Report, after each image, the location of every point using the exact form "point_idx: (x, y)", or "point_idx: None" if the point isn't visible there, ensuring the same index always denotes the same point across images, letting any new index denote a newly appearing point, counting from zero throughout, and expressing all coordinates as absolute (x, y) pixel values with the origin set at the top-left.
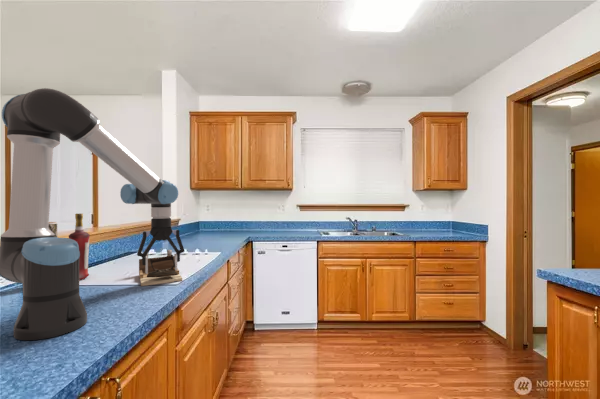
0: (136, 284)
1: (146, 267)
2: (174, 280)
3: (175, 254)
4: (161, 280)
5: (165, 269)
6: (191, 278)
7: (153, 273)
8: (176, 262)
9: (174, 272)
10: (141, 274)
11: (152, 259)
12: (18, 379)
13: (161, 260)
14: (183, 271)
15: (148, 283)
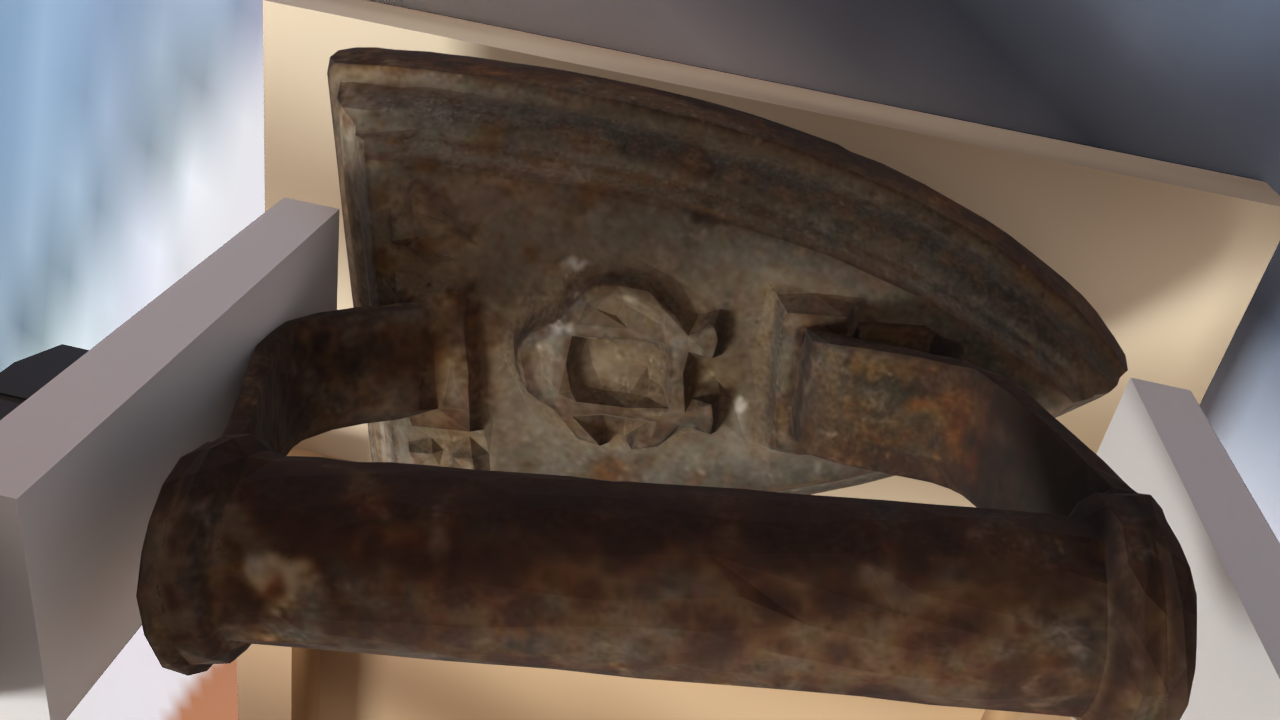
0: (1259, 409)
1: (1234, 501)
2: (474, 30)
3: (5, 582)
4: (788, 110)
5: (583, 398)
6: (69, 64)
7: (980, 309)
8: (174, 307)
9: (397, 99)
10: (1058, 717)
11: (1137, 587)
12: None
13: (707, 490)
14: (162, 706)
15: (1106, 162)
